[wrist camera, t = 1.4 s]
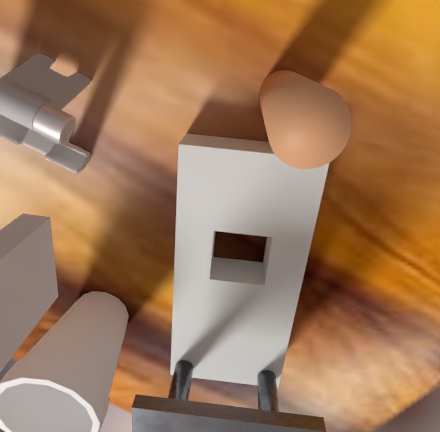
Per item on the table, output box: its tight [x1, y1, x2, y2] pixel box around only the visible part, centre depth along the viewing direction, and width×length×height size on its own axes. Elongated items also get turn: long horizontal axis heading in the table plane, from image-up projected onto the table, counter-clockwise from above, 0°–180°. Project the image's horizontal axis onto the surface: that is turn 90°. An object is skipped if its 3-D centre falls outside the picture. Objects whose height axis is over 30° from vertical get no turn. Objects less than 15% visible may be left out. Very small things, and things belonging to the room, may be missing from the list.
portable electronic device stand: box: [0, 53, 90, 173], centre depth 28 cm, size 9×8×8 cm
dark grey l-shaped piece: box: [132, 360, 326, 432], centre depth 31 cm, size 11×13×12 cm
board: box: [170, 133, 330, 388], centre depth 35 cm, size 26×12×4 cm, turn 175°
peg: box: [259, 70, 352, 169], centre depth 23 cm, size 4×4×14 cm
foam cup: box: [0, 291, 129, 432], centre depth 35 cm, size 10×9×13 cm
